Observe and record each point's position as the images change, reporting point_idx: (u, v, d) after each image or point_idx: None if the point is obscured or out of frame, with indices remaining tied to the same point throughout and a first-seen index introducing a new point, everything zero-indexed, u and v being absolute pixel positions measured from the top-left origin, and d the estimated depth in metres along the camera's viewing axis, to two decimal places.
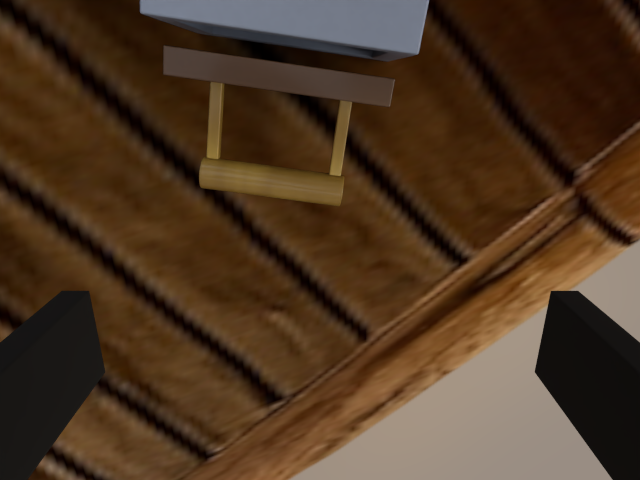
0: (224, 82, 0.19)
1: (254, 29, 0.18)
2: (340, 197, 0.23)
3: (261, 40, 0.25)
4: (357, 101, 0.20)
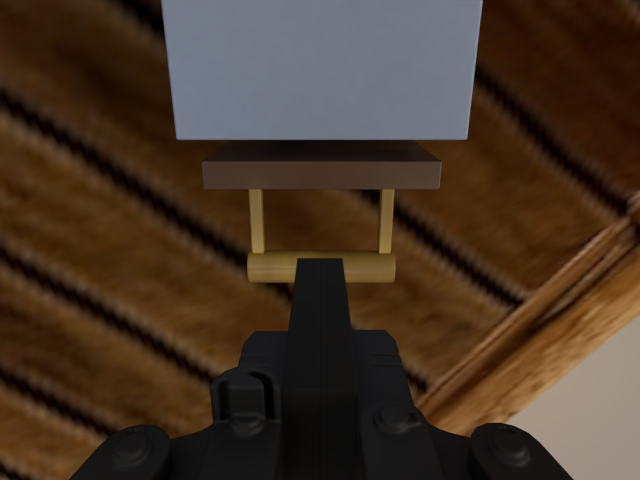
0: (266, 188, 0.19)
1: (294, 138, 0.17)
2: (393, 275, 0.22)
3: None
4: (405, 188, 0.19)
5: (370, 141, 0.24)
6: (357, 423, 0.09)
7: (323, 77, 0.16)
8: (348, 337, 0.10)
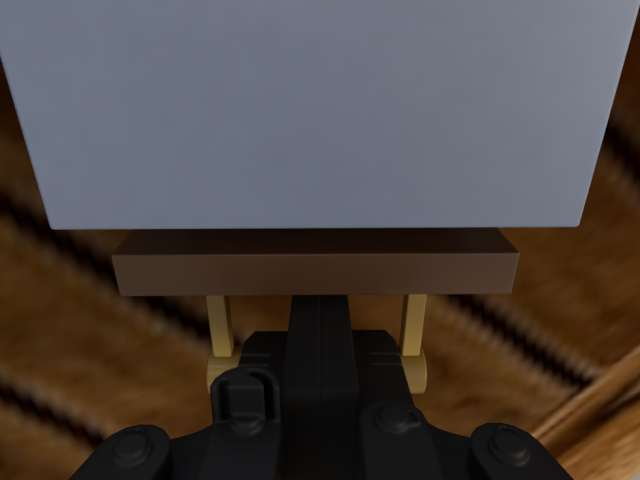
0: (224, 294, 0.11)
1: (265, 227, 0.09)
2: (423, 388, 0.15)
3: None
4: (454, 292, 0.11)
5: None
6: (357, 423, 0.09)
7: (318, 120, 0.08)
8: (348, 337, 0.10)
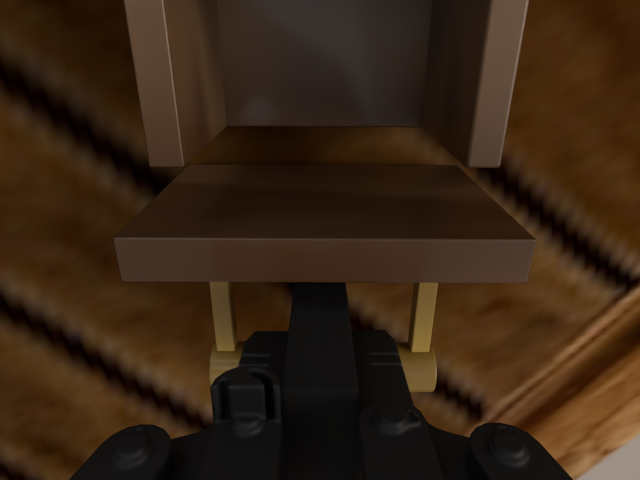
0: (229, 281, 0.11)
1: None
2: (433, 386, 0.14)
3: None
4: (468, 281, 0.11)
5: (398, 171, 0.16)
6: (357, 423, 0.09)
7: None
8: (348, 337, 0.10)
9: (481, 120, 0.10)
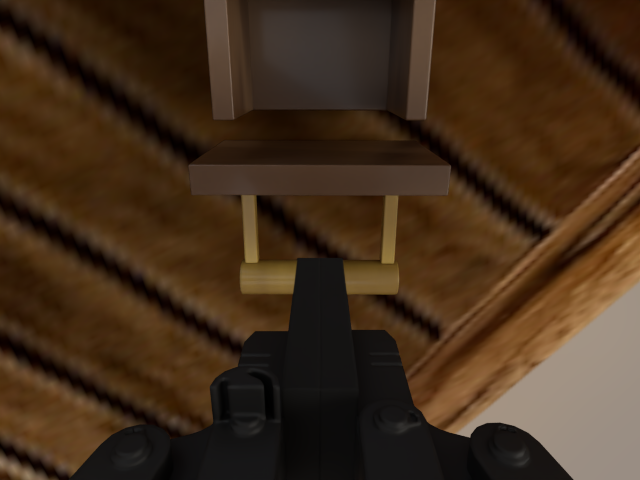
0: (259, 194, 0.17)
1: None
2: (397, 287, 0.20)
3: None
4: (410, 194, 0.17)
5: (372, 143, 0.22)
6: (357, 423, 0.09)
7: None
8: (348, 337, 0.10)
9: (412, 90, 0.16)
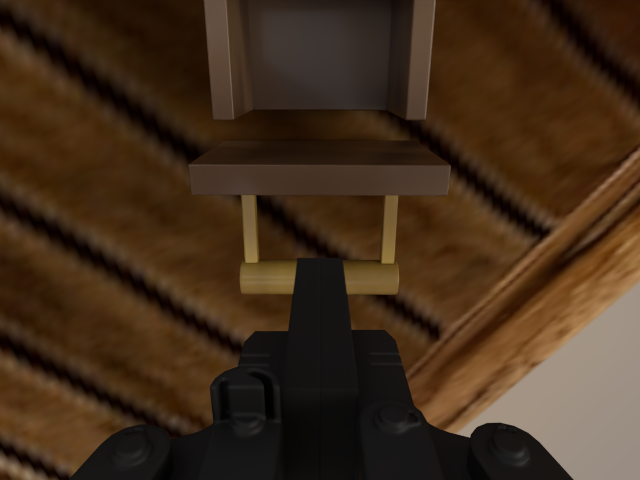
0: (259, 194, 0.17)
1: None
2: (397, 287, 0.20)
3: None
4: (410, 194, 0.17)
5: (372, 143, 0.22)
6: (357, 423, 0.09)
7: None
8: (348, 337, 0.10)
9: (412, 90, 0.16)
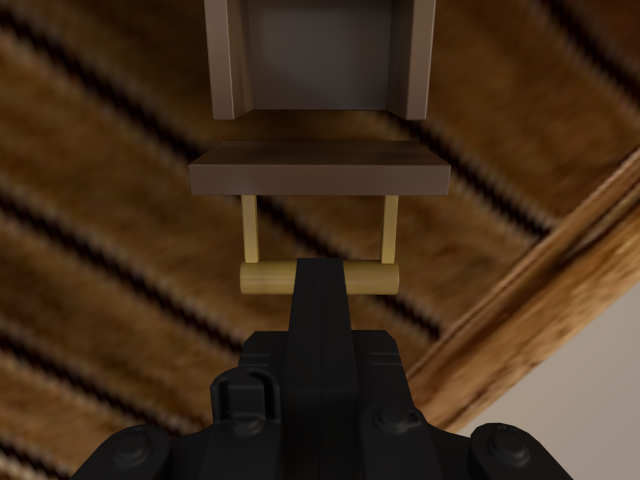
0: (259, 194, 0.17)
1: None
2: (397, 287, 0.20)
3: None
4: (410, 194, 0.17)
5: (372, 143, 0.22)
6: (357, 423, 0.09)
7: None
8: (348, 337, 0.10)
9: (412, 90, 0.16)
